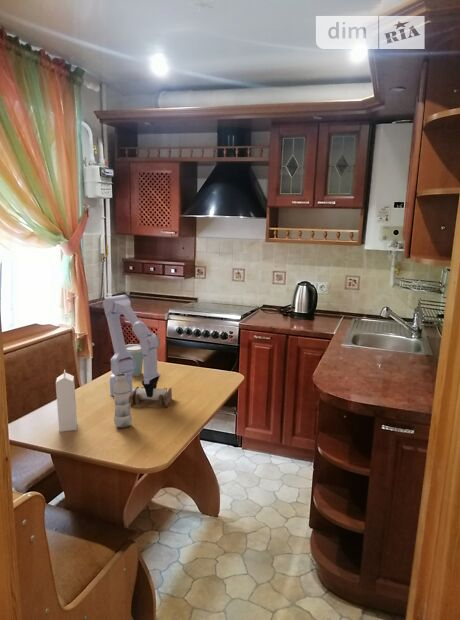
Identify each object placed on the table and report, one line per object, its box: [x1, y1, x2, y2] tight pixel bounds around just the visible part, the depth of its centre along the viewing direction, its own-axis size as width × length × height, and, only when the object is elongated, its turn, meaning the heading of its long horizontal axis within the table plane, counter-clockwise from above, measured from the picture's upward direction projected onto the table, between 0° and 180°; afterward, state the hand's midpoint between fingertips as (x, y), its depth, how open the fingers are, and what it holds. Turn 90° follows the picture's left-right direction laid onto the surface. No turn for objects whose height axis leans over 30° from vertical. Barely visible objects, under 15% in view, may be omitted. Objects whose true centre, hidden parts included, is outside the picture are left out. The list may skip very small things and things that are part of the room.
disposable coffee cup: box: [125, 343, 144, 378], centre depth 225 cm, size 11×11×15 cm
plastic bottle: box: [113, 374, 133, 429], centre depth 167 cm, size 6×7×20 cm
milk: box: [55, 369, 78, 433], centre depth 166 cm, size 6×6×22 cm
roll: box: [136, 387, 168, 400], centre depth 190 cm, size 12×5×5 cm, turn 85°
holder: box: [129, 386, 173, 409], centre depth 191 cm, size 15×10×5 cm, turn 85°
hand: (151, 394), depth 190 cm, fingers closed on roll, 5 cm apart
